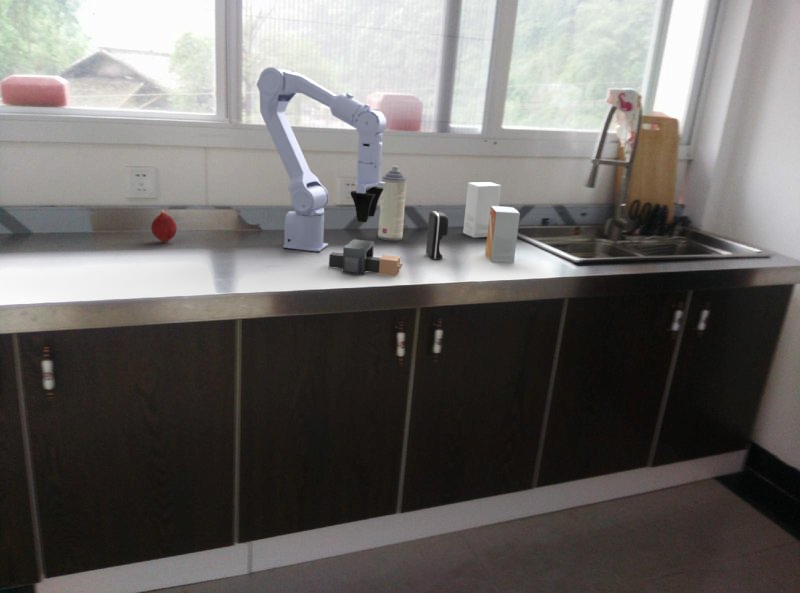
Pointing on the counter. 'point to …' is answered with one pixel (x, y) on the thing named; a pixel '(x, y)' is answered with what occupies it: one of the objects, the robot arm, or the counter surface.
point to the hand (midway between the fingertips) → (366, 218)
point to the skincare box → (480, 207)
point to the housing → (356, 256)
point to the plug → (371, 263)
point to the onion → (164, 227)
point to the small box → (502, 234)
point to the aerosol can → (392, 206)
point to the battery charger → (436, 233)
